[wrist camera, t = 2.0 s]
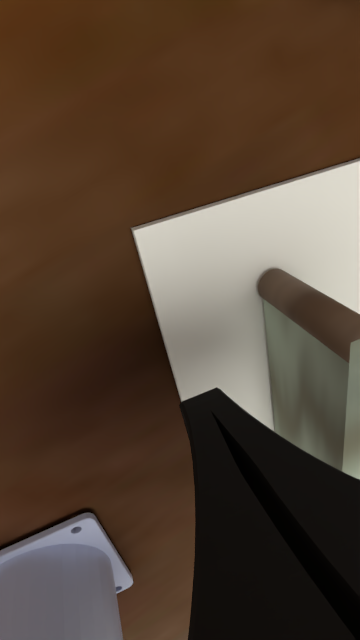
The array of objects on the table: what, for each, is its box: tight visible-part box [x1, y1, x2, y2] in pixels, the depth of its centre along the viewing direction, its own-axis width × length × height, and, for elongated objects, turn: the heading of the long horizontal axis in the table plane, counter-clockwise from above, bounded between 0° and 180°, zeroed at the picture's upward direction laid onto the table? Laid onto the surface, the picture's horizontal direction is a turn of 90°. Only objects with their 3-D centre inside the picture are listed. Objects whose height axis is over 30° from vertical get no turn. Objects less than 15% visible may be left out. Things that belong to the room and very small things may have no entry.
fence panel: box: [258, 268, 360, 480], centre depth 15 cm, size 11×1×5 cm, turn 12°
